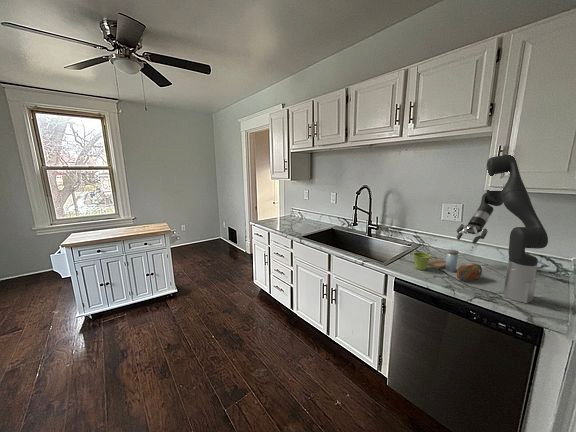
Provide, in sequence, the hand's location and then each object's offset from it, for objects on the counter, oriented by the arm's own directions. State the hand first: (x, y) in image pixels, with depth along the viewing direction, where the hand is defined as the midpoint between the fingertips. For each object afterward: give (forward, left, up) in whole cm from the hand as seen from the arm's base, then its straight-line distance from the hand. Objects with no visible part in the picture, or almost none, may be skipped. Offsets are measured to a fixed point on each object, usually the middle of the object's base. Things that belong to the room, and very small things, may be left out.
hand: (465, 240), depth 142 cm
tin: (-11, +15, -17) cm, 25 cm away
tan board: (+9, +10, -16) cm, 21 cm away
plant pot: (+10, +24, -16) cm, 31 cm away
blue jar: (0, +12, -16) cm, 20 cm away
